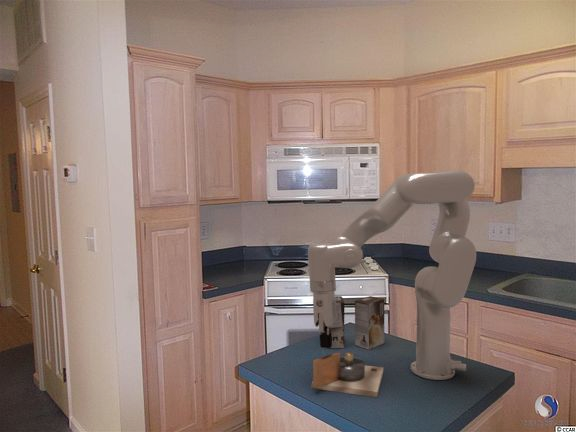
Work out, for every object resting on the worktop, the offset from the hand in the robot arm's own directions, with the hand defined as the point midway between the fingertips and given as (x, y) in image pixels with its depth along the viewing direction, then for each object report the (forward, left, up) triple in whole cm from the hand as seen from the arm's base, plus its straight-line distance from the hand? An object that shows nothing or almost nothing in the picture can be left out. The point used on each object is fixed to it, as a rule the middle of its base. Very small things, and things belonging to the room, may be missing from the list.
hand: (326, 346), depth 129 cm
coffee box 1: (+3, -26, -9) cm, 28 cm away
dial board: (-7, +1, -9) cm, 11 cm away
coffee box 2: (-9, -29, -9) cm, 32 cm away
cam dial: (-4, +4, -7) cm, 9 cm away
